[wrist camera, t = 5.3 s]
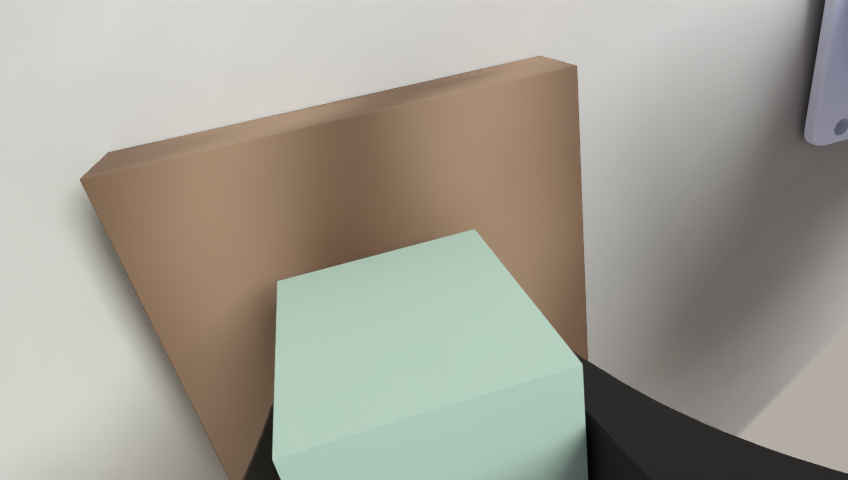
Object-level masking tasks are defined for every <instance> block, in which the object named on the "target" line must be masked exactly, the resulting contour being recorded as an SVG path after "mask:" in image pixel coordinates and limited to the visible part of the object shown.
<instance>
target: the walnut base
mask: <svg viewBox="0 0 848 480" xmlns="http://www.w3.org/2000/svg"><path fill="white" fill-rule="evenodd" d="M80 181H81V183H82V185H83V187H84V189H85V191H86V193H87V195H88V197H89V199H90V201H91V203H92V205H93V207H94V209H95V211H96V213H97V215H98V217H99V219H100V221H101V223H102V225H103V227H104V229H105V231H106V233H107V235H108V237H109V239H110V241H111V243H112V245H113V247H114V249H115V251H116V253H117V255H118V257H119V259H120V261H121V263H122V265H123V267H124V269H125V271H126V273H127V275H128V277H129V279H130V281H131V283H132V285H133V287H134V289H135V291H136V293H137V295H138V297H139V299H140V301H141V303H142V305H143V307H144V309H145V311H146V313H147V315H148V317H149V319H150V321H151V323H152V325H153V327H154V329H155V331H156V333H157V335H158V337H159V339H160V341H161V343H162V345H163V347H164V349H165V351H166V353H167V355H168V357H169V359H170V361H171V363H172V365H173V367H174V369H175V371H176V373H177V375H178V377H179V379H180V381H181V383H182V385H183V387H184V389H185V391H186V393H187V395H188V397H189V399H190V401H191V403H192V405H193V407H194V409H195V411H196V413H197V415H198V417H199V419H200V422H201V424H202V426H203V428H204V430H205V432H206V434H207V436H208V438H209V440H210V442H211V444H212V446H213V448H214V450H215V452H216V454H217V456H218V458H219V460H220V462H221V464H222V466H223V468H224V470H225V472H226V474H227V476H228V478H229V480H243V477H244V475H245V473H246V470H247V468H248V466H249V463H250V461H251V459H252V456H253V454H254V451H255V449H256V446H257V444H258V441H259V439H260V436H261V433H262V431H263V428H264V425H265V422H266V419H267V417H268V414H269V411H270V408H271V405H272V404H273V402H274V381H275V346H276V311H277V281H280V280H284V279H288V278H291V277H295V276H299V275H303V274H306V273H310V272H314V271H318V270H322V269H325V268H329V267H333V266H337V265H341V264H344V263H348V262H352V261H356V260H359V259H363V258H367V257H371V256H375V255H378V254H382V253H386V252H390V251H394V250H397V249H401V248H405V247H409V246H412V245H416V244H420V243H424V242H428V241H431V240H435V239H439V238H443V237H447V236H450V235H454V234H458V233H462V232H465V231H469V230H473V229H475V230H476V231H477V233H478V234H479V235H480V236H481V238H482V239H483V240H484V241H485V243H486V244H487V245H488V246H489V248H490V249H491V250H492V251H493V253H494V254H495V255H496V256H497V258H498V259H499V260H500V261H501V263H502V264H503V265H504V266H505V268H506V269H507V270H508V271H509V273H510V274H511V275H512V276H513V278H514V279H515V280H516V281H517V283H518V284H519V285H520V286H521V288H522V289H523V290H524V291H525V293H526V294H527V295H528V296H529V298H530V299H531V300H532V301H533V303H534V304H535V305H536V306H537V308H538V309H539V310H540V311H541V313H542V314H543V315H544V316H545V318H546V319H547V320H548V321H549V323H550V324H551V325H552V327H553V328H554V329H555V330H556V332H557V333H558V334H559V335H560V337H561V338H562V339H563V340H564V342H565V343H566V344H567V345H568V347H569V348H570V349H571V350H572V351H573V352H575V353H577V354H578V355H580V356H581V357H583V358H584V359H586V360H587V361H588V351H587V323H586V296H585V269H584V241H583V214H582V187H581V159H580V132H579V105H578V78H577V66H576V65H572V64H569V63H565V62H561V61H558V60H554V59H550V58H547V57H543V56H538V57H533V58H529V59H524V60H520V61H515V62H511V63H506V64H502V65H497V66H493V67H489V68H484V69H480V70H475V71H471V72H466V73H462V74H457V75H453V76H448V77H444V78H439V79H435V80H430V81H426V82H421V83H417V84H413V85H408V86H404V87H399V88H395V89H390V90H386V91H381V92H377V93H372V94H368V95H363V96H359V97H354V98H350V99H345V100H341V101H336V102H332V103H328V104H323V105H319V106H314V107H310V108H305V109H301V110H296V111H292V112H287V113H283V114H278V115H274V116H269V117H265V118H260V119H256V120H252V121H247V122H243V123H238V124H234V125H229V126H225V127H220V128H216V129H211V130H207V131H202V132H198V133H193V134H189V135H184V136H180V137H176V138H171V139H167V140H162V141H158V142H153V143H149V144H144V145H140V146H135V147H131V148H126V149H122V150H117V151H113V152H108V153H107V154H106V155H105V156H104V157H103V158H102V159H101V160H100V161H99V162H98V163H96V164H95V165H94V166H93V167H92V168H91V169H90V170H89V171H88V172H87V173H86V174H85V175H84V176H83V177H82V178H81V179H80Z"/></svg>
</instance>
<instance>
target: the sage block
mask: <svg viewBox="0 0 848 480" xmlns="http://www.w3.org/2000/svg"><path fill="white" fill-rule="evenodd" d="M272 460H273V463H274V465H275V467H276V470H277V472H278V474H279V477H280V479H281V480H588V466H587V445H586V424H585V403H584V382H583V364H582V363H581V362H580V360H579V359H578V358H577V357H576V355H575V354H574V353H573V352H572V350H571V349H570V348H569V347H568V345H567V344H566V343H565V342H564V340H563V339H562V338H561V337H560V335H559V334H558V333H557V332H556V330H555V329H554V328H553V327H552V325H551V324H550V323H549V321H548V320H547V319H546V318H545V316H544V315H543V314H542V313H541V311H540V310H539V309H538V308H537V306H536V305H535V304H534V303H533V301H532V300H531V299H530V298H529V296H528V295H527V294H526V293H525V291H524V290H523V289H522V288H521V286H520V285H519V284H518V283H517V281H516V280H515V279H514V278H513V276H512V275H511V274H510V273H509V271H508V270H507V269H506V268H505V266H504V265H503V264H502V263H501V261H500V260H499V259H498V258H497V256H496V255H495V254H494V253H493V251H492V250H491V249H490V248H489V246H488V245H487V244H486V243H485V241H484V240H483V239H482V238H481V236H480V235H479V234H478V233H477V231H476V230H475V229H473V230H469V231H465V232H462V233H458V234H454V235H450V236H447V237H443V238H439V239H435V240H431V241H428V242H424V243H420V244H416V245H412V246H409V247H405V248H401V249H397V250H394V251H390V252H386V253H382V254H378V255H375V256H371V257H367V258H363V259H359V260H356V261H352V262H348V263H344V264H341V265H337V266H333V267H329V268H325V269H322V270H318V271H314V272H310V273H306V274H303V275H299V276H295V277H291V278H288V279H284V280H280V281H277V311H276V346H275V381H274V415H273V450H272Z"/></svg>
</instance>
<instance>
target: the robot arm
mask: <svg viewBox="0 0 848 480" xmlns="http://www.w3.org/2000/svg"><path fill="white" fill-rule="evenodd" d="M836 124H837V125H836ZM835 126H836V127H835ZM804 137H805V139H806V141H807V142H809V143H811V144H814V145H817V146H824V145H828V144H832V143H836V142H839V141H843V140H847V139H848V0H825V7H824V13H823V19H822V25H821V31H820V37H819V44H818V50H817V56H816V62H815V68H814V74H813V81H812V87H811V93H810V99H809V105H808V112H807V118H806V124H805V130H804ZM572 352H573V351H572ZM573 353H574V354H575V355H576V357H577V358H578V359H579V360H580V362H581V363H582V364H583V382H584V403H585V424H586V445H587V466H588V480H848V474H847V473H843V472H840V471H836V470H833V469H829V468H826V467H823V466H820V465H817V464H814V463H810V462H807V461H804V460H801V459H797V458H794V457H791V456H788V455H785V454H782V453H779V452H777V451H774V450H771V449H768V448H765V447H762V446H759V445H757V444H754V443H752V442H749V441H746V440H744V439H741V438H739V437H736V436H733V435H731V434H728V433H726V432H723V431H721V430H718V429H716V428H714V427H711V426H709V425H706V424H704V423H702V422H700V421H698V420H695V419H693V418H691V417H689V416H687V415H684V414H682V413H680V412H678V411H676V410H674V409H671V408H669V407H667V406H665V405H663V404H661V403H659V402H657V401H655V400H654V399H652V398H650V397H648V396H646V395H644V394H643V393H641V392H639V391H637V390H635V389H633V388H632V387H630V386H628V385H626V384H625V383H623V382H621V381H620V380H618V379H616V378H615V377H613V376H611V375H610V374H608V373H606V372H605V371H603V370H602V369H600V368H598V367H597V366H595V365H593V364H592V363H590V362H589V361H587V360H586V359H584V358H583V357H581V356H580V355H578V354H577V353H575V352H573ZM273 415H274V402H273V404H272V405H271V408H270V411H269V414H268V417H267V419H266V422H265V425H264V428H263V431H262V433H261V436H260V439H259V441H258V444H257V446H256V449H255V451H254V454H253V456H252V459H251V461H250V463H249V466H248V468H247V470H246V473H245V475H244V477H243V480H281V479H280V477H279V474H278V472H277V470H276V467H275V465H274V463H273V460H272V450H273Z"/></svg>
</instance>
